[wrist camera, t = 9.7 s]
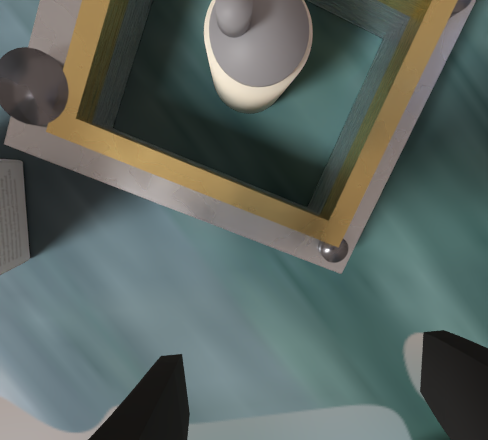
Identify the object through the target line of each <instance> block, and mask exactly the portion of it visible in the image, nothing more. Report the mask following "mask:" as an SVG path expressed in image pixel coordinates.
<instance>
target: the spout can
mask: <svg viewBox="0 0 488 440" xmlns="http://www.w3.org/2000/svg"><path fill="white" fill-rule="evenodd" d="M312 37H313V28H312V20H311V17H310V13H309V10H308V7H307V5H306V3H305V1H304V0H212V2H211V4H210V6H209V8H208V11H207V14H206V18H205V24H204V40H205V46H206V51H207V55H208V60H209V65H210V69H211V74H212V78H213V83H214V86H215V89H216V92H217V94H218V95H219V97H220V99H221V100H222V101H223V102H224V103H225V104H226V105H227V106H228V107H230V108H231V109H233V110H235V111H238V112H241V113H247V114H251V113H258V112H261V111H263V110H265V109H267V108H269V107H270V106H271V105H272V104H274V103H275V101H276V100H277V99H278V98H279V97H280V95H281V94H282V93H283V92H284V91H285V89H286V88H287V87H288V86H289V85H290V83H291V82H292V81H293V80H294V78H295V77H296V76H297V75H298V74H299V72H300V71H301V70H302V68H303V67H304V65H305V63H306V61H307V59H308V56H309V53H310V50H311V45H312Z"/></svg>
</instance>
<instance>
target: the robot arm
mask: <svg viewBox="0 0 488 440" xmlns="http://www.w3.org/2000/svg"><path fill="white" fill-rule="evenodd" d="M420 392H421V394H422V395H423V397H424V399H425V400H426V402H427V404H428V405H429V407H430V409H431V410H432V412H433V414H434V415H435V417H436V418H437V420H438V422H439V423H440V425H441V426H442V428H443V429H444V431H445V432H446V433H447V435H448V436H449V437H450V439H451V440H488V348H486V347H483V346H481V345H479V344H477V343H474V342H472V341H470V340H467V339H465V338H462V337H460V336H458V335H455V334H452V333H450V332H447V331H444V330H442V331H431V332H424V334H423V354H422V370H421V387H420ZM189 415H190V413H189V405H188V397H187V390H186V382H185V374H184V366H183V358H182V354H178V355H167V356H161V357H160V358H159V359H158V360H157V361H156V362H155V364H154V365H153V366H152V367H151V368H150V370H149V371H148V372H147V373H146V375H145V376H144V377H143V378H142V379H141V381H140V382H139V383H138V384H137V385H136V387H135V388H134V389H133V390H132V391H131V393H130V394H129V395H128V396H127V397H126V398H125V400H124V401H123V402H122V403H121V404H120V405H119V407H118V408H117V409H116V410H115V411H114V412H113V414H112V415H111V416H110V417H109V418H108V419H107V420H106V421H105V422H104V423H103V424H102V426H101V427H100V428H99V429H98V430H97V431H96V432H95V433H94V434H93V435H92V436H91V437H90V438H89V439H88V440H187V436H188V425H189Z"/></svg>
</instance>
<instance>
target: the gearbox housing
mask: <svg viewBox="0 0 488 440" xmlns="http://www.w3.org/2000/svg"><path fill="white" fill-rule="evenodd" d="M152 1H153V0H40V3H39V7H38V11H37V15H36V19H35V23H34V27H33V31H32V34H31V38H30V42H29V46H28V48H27V47H24V48H17V49H14V50H11V51H9V52H8V53H6V54H5V55H4V56H3V57H2V58H1V59H0V104H1V106H2V107H3V109H4V110H5V111H6V112H7V113H8V114H9V115H10V116H11V118H10V122H9V126H8V130H7V134H6V137H5V141H4V144H5V145H7V146H10V147H13V148H15V149H18V150H20V151H23V152H26V153H28V154H31V155H33V156H36V157H39V158H41V159H44V160H46V161H49V162H52V163H54V164H57V165H59V166H62V167H65V168H67V169H70V170H72V171H75V172H78V173H80V174H83V175H85V176H88V177H91V178H93V179H96V180H98V181H101V182H104V183H106V184H109V185H111V186H114V187H117V188H119V189H122V190H124V191H127V192H130V193H132V194H135V195H137V196H140V197H143V198H145V199H148V200H150V201H153V202H156V203H158V204H161V205H163V206H166V207H169V208H171V209H174V210H176V211H179V212H182V213H184V214H187V215H189V216H192V217H195V218H197V219H200V220H202V221H205V222H208V223H210V224H213V225H215V226H218V227H221V228H223V229H226V230H228V231H231V232H234V233H236V234H239V235H241V236H244V237H247V238H249V239H252V240H254V241H257V242H260V243H262V244H265V245H267V246H270V247H273V248H275V249H278V250H280V251H283V252H286V253H288V254H291V255H293V256H296V257H299V258H301V259H304V260H306V261H309V262H312V263H314V264H317V265H319V266H322V267H325V268H327V269H330V270H332V271H335V272H338V273H340V274H342V272H343V270H344V268H345V266H346V264H347V262H348V260H349V257H350V255H351V253H352V251H353V249H354V247H355V245H356V243H357V241H358V239H359V237H360V235H361V233H362V231H363V229H364V227H365V225H366V223H367V221H368V219H369V217H370V215H371V213H372V211H373V209H374V207H375V205H376V203H377V201H378V199H379V197H380V195H381V192H382V190H383V188H384V186H385V184H386V182H387V180H388V178H389V176H390V174H391V172H392V170H393V168H394V166H395V164H396V162H397V160H398V158H399V156H400V154H401V152H402V150H403V148H404V146H405V144H406V142H407V140H408V138H409V136H410V134H411V132H412V130H413V127H414V125H415V123H416V121H417V119H418V117H419V115H420V113H421V111H422V109H423V107H424V105H425V103H426V101H427V99H428V97H429V95H430V93H431V91H432V89H433V87H434V85H435V83H436V81H437V79H438V77H439V75H440V73H441V71H442V69H443V67H444V65H445V62H446V60H447V58H448V56H449V54H450V52H451V50H452V48H453V46H454V44H455V42H456V40H457V38H458V36H459V34H460V32H461V30H462V28H463V26H464V24H465V22H466V20H467V18H468V16H469V14H470V12H471V10H472V8H473V6H474V4H475V2H476V0H306V1H308V2H310V3H312V4H314V5H316V6H318V7H320V8H322V9H324V10H326V11H328V12H330V13H332V14H334V15H337V16H339V17H341V18H343V19H345V20H347V21H349V22H351V23H353V24H355V25H357V26H359V27H361V28H363V29H365V30H367V31H369V32H371V33H373V34H375V35H377V36H379V37H381V38H383V41H382V43H381V45H380V47H379V50H378V52H377V54H376V56H375V59H374V61H373V63H372V65H371V67H370V70H369V72H368V74H367V76H366V79H365V81H364V83H363V85H362V87H361V90H360V92H359V94H358V96H357V98H356V101H355V103H354V105H353V107H352V110H351V112H350V114H349V116H348V118H347V121H346V123H345V125H344V127H343V130H342V132H341V134H340V136H339V138H338V141H337V143H336V145H335V147H334V150H333V152H332V154H331V156H330V158H329V161H328V163H327V165H326V167H325V169H324V172H323V174H322V176H321V178H320V181H319V183H318V185H317V187H316V189H315V192H314V194H313V196H312V198H311V201H310V203H309V205H308V207H305V206H303V205H300V204H298V203H295V202H293V201H290V200H288V199H285V198H283V197H280V196H278V195H276V194H273V193H271V192H268V191H266V190H263V189H261V188H258V187H256V186H253V185H251V184H249V183H246V182H244V181H241V180H239V179H236V178H234V177H231V176H229V175H227V174H224V173H222V172H219V171H217V170H214V169H212V168H209V167H207V166H204V165H202V164H200V163H197V162H195V161H192V160H190V159H187V158H185V157H182V156H180V155H177V154H175V153H173V152H170V151H168V150H165V149H163V148H160V147H158V146H155V145H153V144H150V143H148V142H146V141H143V140H141V139H138V138H136V137H133V136H131V135H128V134H126V133H123V132H121V131H119V130H116V129H114V128H113V125H114V122H115V119H116V115H117V112H118V109H119V106H120V103H121V99H122V96H123V93H124V90H125V87H126V84H127V80H128V77H129V74H130V71H131V68H132V64H133V61H134V58H135V55H136V52H137V49H138V45H139V42H140V39H141V36H142V33H143V29H144V26H145V23H146V20H147V17H148V14H149V10H150V7H151V4H152Z"/></svg>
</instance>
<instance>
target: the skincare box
mask: <svg viewBox="0 0 488 440" xmlns="http://www.w3.org/2000/svg"><path fill="white" fill-rule="evenodd" d="M29 259H30V252H29V240H28V227H27V214H26V201H25V187H24V174H23V162H22V161H20V160H10V159H0V275H1V274H3V273H5V272H7V271H9V270H11V269H13V268H15V267H17V266H19V265H21V264H23V263H25V262H26V261H28V260H29Z"/></svg>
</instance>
